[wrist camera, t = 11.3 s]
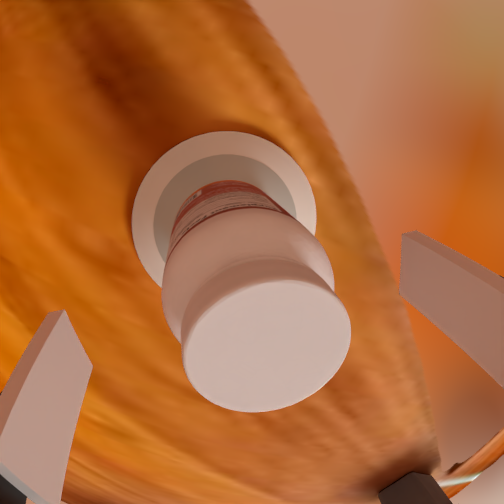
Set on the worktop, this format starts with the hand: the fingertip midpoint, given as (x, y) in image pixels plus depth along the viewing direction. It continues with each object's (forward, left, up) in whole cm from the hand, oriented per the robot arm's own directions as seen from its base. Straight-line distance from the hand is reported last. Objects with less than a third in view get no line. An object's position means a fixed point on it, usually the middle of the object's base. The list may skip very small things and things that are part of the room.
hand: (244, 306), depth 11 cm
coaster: (0, 0, -9) cm, 9 cm away
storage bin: (+25, -63, -9) cm, 68 cm away
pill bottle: (0, 0, -8) cm, 8 cm away
